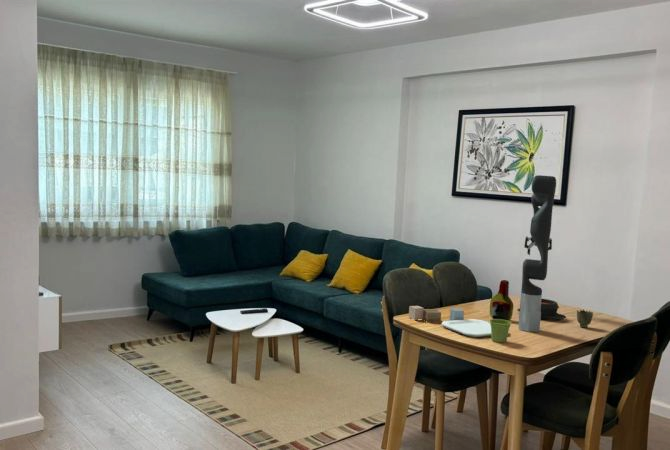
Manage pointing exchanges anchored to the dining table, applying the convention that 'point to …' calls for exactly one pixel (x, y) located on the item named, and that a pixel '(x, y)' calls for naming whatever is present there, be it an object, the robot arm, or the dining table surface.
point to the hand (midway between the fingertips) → (537, 255)
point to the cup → (584, 318)
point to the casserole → (549, 310)
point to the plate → (469, 327)
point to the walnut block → (432, 315)
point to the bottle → (502, 303)
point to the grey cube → (456, 314)
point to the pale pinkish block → (416, 312)
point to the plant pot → (499, 330)
